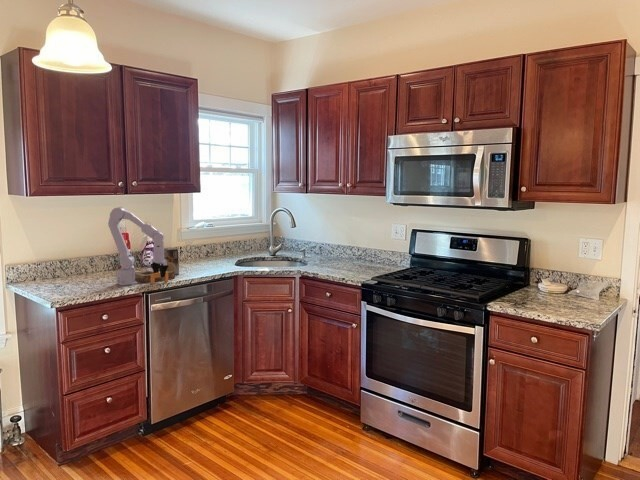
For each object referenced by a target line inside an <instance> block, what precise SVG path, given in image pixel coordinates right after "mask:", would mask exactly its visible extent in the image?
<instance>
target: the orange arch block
mask: <svg viewBox="0 0 640 480" xmlns="http://www.w3.org/2000/svg"><path fill="white" fill-rule="evenodd" d="M157 277H161V275H160V273H152V274H151V282H150V284H151V285H154V284H156V281H155V278H157ZM164 278H165V280H164V282H165V283H169V279H168V272H166V274H165V277H164Z"/></svg>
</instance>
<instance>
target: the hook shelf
mask: <svg viewBox="0 0 640 480" xmlns="http://www.w3.org/2000/svg"><path fill="white" fill-rule="evenodd" d="M166 272H168V280H174V279H175V278H176V277H175V276H176V275H175V272H173V271H169V270H166ZM152 273H154V272H153V269H152V268H149V269H148V268H147V269H145V270H144V271H143V270H142V271H135V282H138V283H143V284H146V283H151V274H152ZM159 273H160V270H159ZM159 280H160V281H165V278H164V277H157V278H155V282H159Z"/></svg>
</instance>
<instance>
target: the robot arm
mask: <svg viewBox="0 0 640 480" xmlns="http://www.w3.org/2000/svg"><path fill="white" fill-rule="evenodd" d="M122 220H128V221H130V222H131V223H133V224H135V225H136V226H137V227H139V228H140V230H141V232H143V234H145V235H146V236H147V237H149V238H150V239H151V240H152V241H153V258H151V263H149V264H150V266H151V269H152V270H153V272H154V273H159V270H160V275H161V277H165V274H166V270H167V268H168V265H167V262H166V260H164V249H165V246H164V245H165V243H164V239H165V235H164V233H163V232H162V231H160V230H159V229H156V228H155V227H154V226H153V224H151V223H145V222H143V221H142V220H141V219H140V218H139V217H137V216H136V215H135V214H134V213H132V212H131V211H130V210H128V209H126V208H125V207H123V206H118V207H114V208H113V209H112V210H111V211H110V213H109V218H108V223H107V225H108V228H109V230H110V233H111V236H112V238H113V241H114V244H115V245H116V248H117V251H118V254H119V260H120V261H119V262H120V263H119V264H120V266H121V267H120V268H119V269H117V270H116V273H115V274H116V285H119V286H129V285H135V284H138V283H139V281H136V280H135V272H136V269H135V266H134V265H135V262H136V260H135V257H134V256H133V255H132V254H131V252H130V250H129V248H128V246H127V244H126V241H125V238H124V236H123V233H122V232H121V231H122V230H121V228H120V226H119V225H120V223H121V221H122Z"/></svg>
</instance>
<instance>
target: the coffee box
mask: <svg viewBox="0 0 640 480" xmlns="http://www.w3.org/2000/svg"><path fill="white" fill-rule="evenodd" d="M164 260H166V262H167V265H168V268H167V270H169V271H173V272H175V276H176V275H180V265H179V264H180V263H179V248H164Z"/></svg>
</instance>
